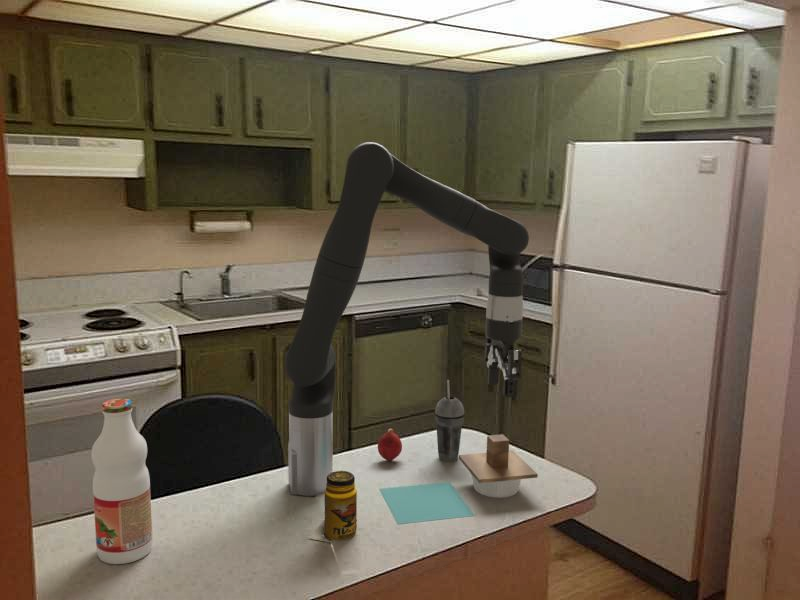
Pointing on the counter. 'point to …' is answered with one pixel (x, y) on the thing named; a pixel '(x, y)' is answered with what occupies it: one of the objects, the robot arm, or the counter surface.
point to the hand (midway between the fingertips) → (500, 390)
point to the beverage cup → (449, 426)
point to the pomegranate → (389, 446)
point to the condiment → (338, 508)
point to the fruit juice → (121, 487)
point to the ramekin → (497, 488)
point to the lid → (497, 462)
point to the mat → (425, 503)
